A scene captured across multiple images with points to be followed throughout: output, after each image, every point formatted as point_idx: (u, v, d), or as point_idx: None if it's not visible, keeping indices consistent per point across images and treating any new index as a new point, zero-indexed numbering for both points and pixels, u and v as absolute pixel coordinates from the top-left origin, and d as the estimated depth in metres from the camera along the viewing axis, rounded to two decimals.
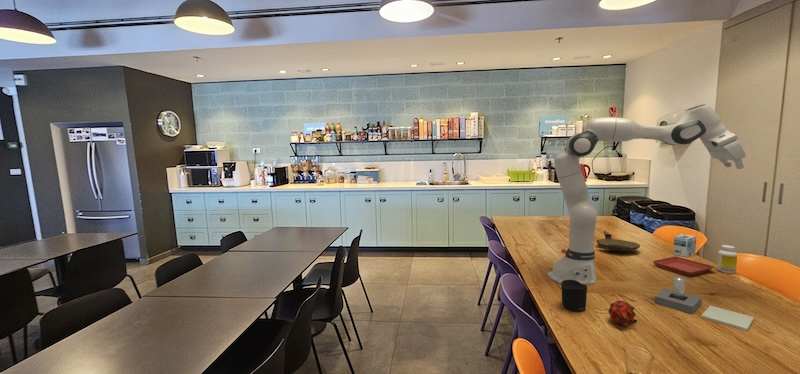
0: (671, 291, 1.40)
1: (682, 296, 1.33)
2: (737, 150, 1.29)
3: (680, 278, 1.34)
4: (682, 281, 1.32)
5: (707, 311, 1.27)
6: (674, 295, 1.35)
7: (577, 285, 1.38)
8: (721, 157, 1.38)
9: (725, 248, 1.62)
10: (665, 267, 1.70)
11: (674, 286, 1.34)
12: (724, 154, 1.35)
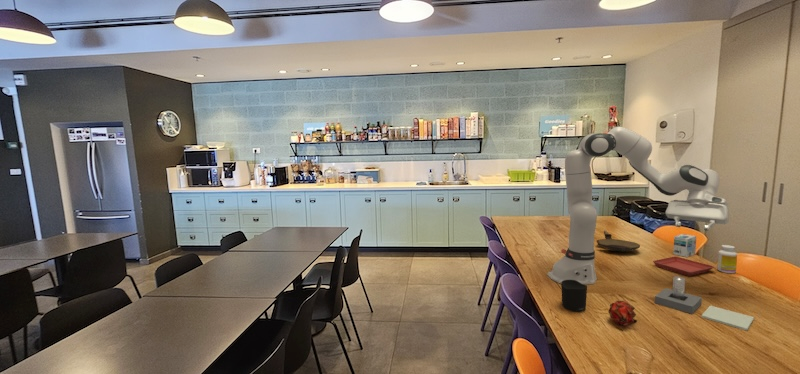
0: (671, 291, 1.40)
1: (682, 296, 1.33)
2: (728, 215, 1.34)
3: (680, 278, 1.34)
4: (682, 281, 1.32)
5: (707, 311, 1.27)
6: (674, 295, 1.35)
7: (577, 285, 1.38)
8: (695, 214, 1.40)
9: (725, 248, 1.62)
10: (665, 267, 1.70)
11: (674, 286, 1.34)
12: (707, 212, 1.37)
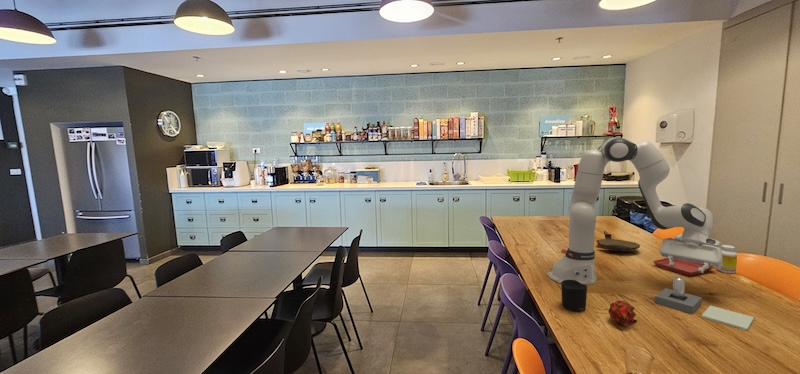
0: (671, 291, 1.40)
1: (682, 296, 1.33)
2: (722, 258, 1.33)
3: (680, 278, 1.34)
4: (682, 281, 1.32)
5: (707, 311, 1.27)
6: (674, 295, 1.35)
7: (577, 285, 1.38)
8: (689, 254, 1.39)
9: (725, 248, 1.62)
10: (665, 267, 1.70)
11: (674, 286, 1.34)
12: (701, 254, 1.37)
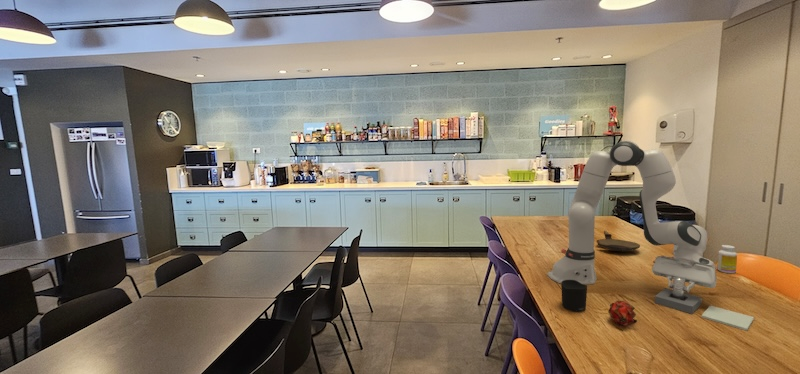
0: (671, 291, 1.40)
1: (682, 296, 1.33)
2: (715, 279, 1.29)
3: (680, 278, 1.34)
4: (682, 281, 1.32)
5: (707, 311, 1.27)
6: (674, 295, 1.35)
7: (577, 285, 1.38)
8: (682, 274, 1.35)
9: (725, 248, 1.62)
10: None
11: (674, 286, 1.34)
12: (694, 274, 1.33)
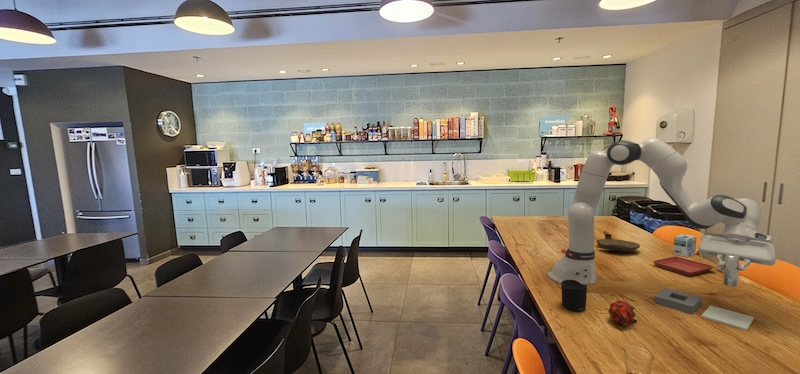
0: (671, 291, 1.40)
1: (736, 276, 1.19)
2: (775, 255, 1.15)
3: (733, 256, 1.20)
4: (736, 259, 1.19)
5: (707, 311, 1.27)
6: (726, 275, 1.21)
7: (577, 285, 1.38)
8: (735, 251, 1.21)
9: None
10: (665, 267, 1.70)
11: (726, 265, 1.21)
12: (749, 250, 1.19)
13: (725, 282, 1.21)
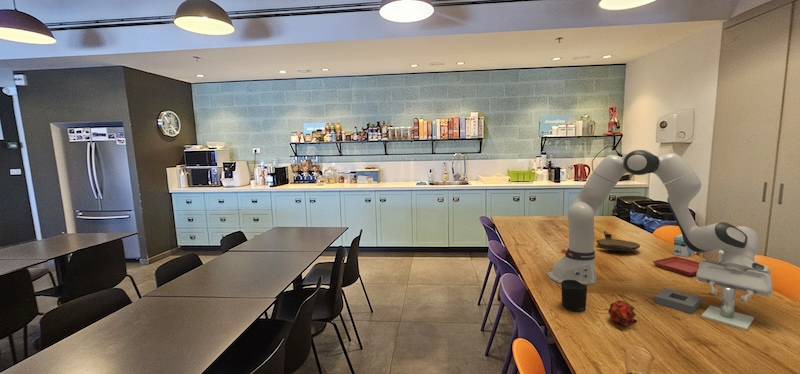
0: (671, 291, 1.40)
1: (733, 308, 1.21)
2: None
3: (730, 288, 1.22)
4: (732, 291, 1.20)
5: (707, 311, 1.27)
6: (723, 306, 1.22)
7: (577, 285, 1.38)
8: (732, 281, 1.23)
9: None
10: (665, 267, 1.70)
11: (723, 297, 1.22)
12: (746, 280, 1.20)
13: (722, 314, 1.23)
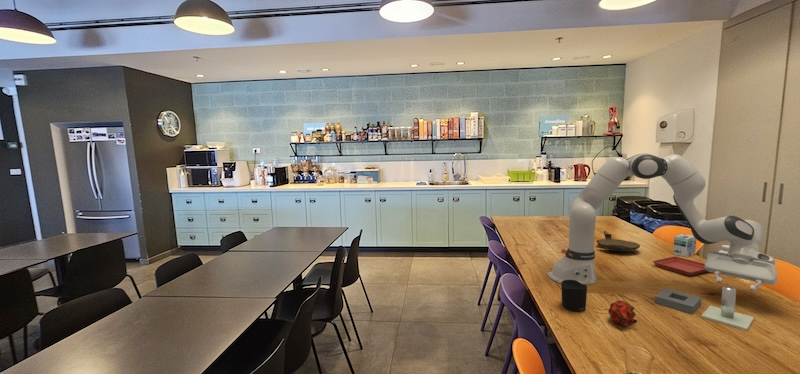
0: (671, 291, 1.40)
1: (733, 308, 1.21)
2: (776, 275, 1.24)
3: (730, 288, 1.21)
4: (733, 291, 1.20)
5: (707, 311, 1.27)
6: (723, 307, 1.22)
7: (577, 285, 1.38)
8: (739, 270, 1.30)
9: (725, 248, 1.62)
10: (665, 267, 1.70)
11: (723, 297, 1.22)
12: (752, 270, 1.28)
13: (722, 314, 1.23)
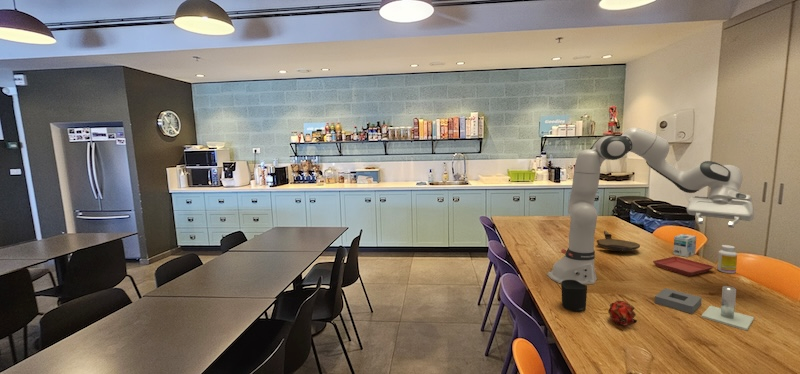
0: (671, 291, 1.40)
1: (733, 308, 1.21)
2: (753, 212, 1.31)
3: (730, 288, 1.21)
4: (733, 291, 1.20)
5: (707, 311, 1.27)
6: (723, 307, 1.22)
7: (577, 285, 1.38)
8: (718, 210, 1.37)
9: (725, 248, 1.62)
10: (665, 267, 1.70)
11: (723, 297, 1.22)
12: (731, 208, 1.34)
13: (722, 314, 1.23)
